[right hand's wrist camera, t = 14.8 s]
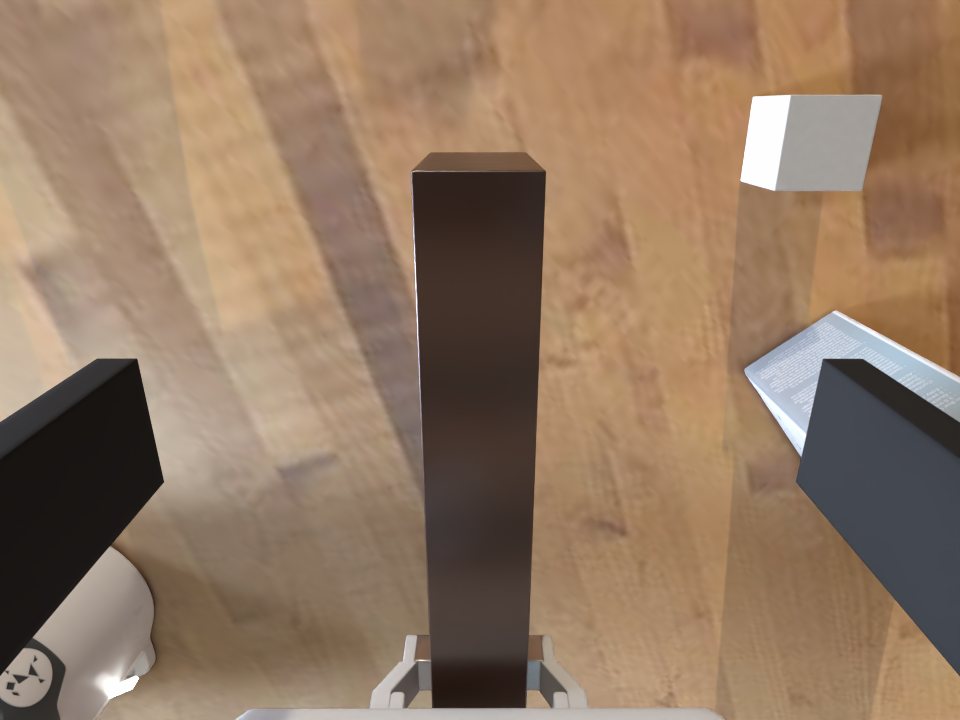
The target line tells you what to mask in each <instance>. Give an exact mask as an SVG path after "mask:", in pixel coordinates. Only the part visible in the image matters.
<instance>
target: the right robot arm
mask: <svg viewBox="0 0 960 720" xmlns="http://www.w3.org/2000/svg"><path fill="white" fill-rule="evenodd" d="M163 483H164V480H163V475H162V470H161V466H160V461H159V457H158V452H157V448H156V443H155V438H154V434H153V429H152V425H151V420H150V415H149V411H148V406H147V402H146V397H145V392H144V388H143V383H142V379H141V374H140V369H139V365H138V360H137V359H96V360H94V361H93V362H91V363H90V364H88V365H87V366H85V367H84V368H82V369H81V370H79V371H78V372H76V373H75V374H73V375H72V376H70V377H68V378H67V379H65V380H64V381H62V382H61V383H59V384H58V385H56V386H55V387H53V388H52V389H50V390H49V391H47V392H46V393H44V394H43V395H41V396H39V397H38V398H36V399H35V400H33V401H32V402H30V403H29V404H27V405H26V406H24V407H23V408H21V409H20V410H18V411H17V412H15V413H14V414H12V415H11V416H9V417H7V418H6V419H4V420H3V421H1V422H0V676H1V675H2V673H3V672H4V671H5V670H6V669H7V667H8V666H9V665H10V664H11V663H12V662H13V660H14V659H15V658H16V657H17V656H18V654H19V653H20V652H21V651H22V650H23V649H24V647H25V646H26V645H27V644H28V643H29V641H30V640H31V639H32V638H33V637H34V635H35V634H36V633H37V632H38V631H39V630H40V628H41V627H42V626H43V625H44V624H45V622H46V621H47V620H48V619H49V618H50V617H51V615H52V614H53V613H54V612H55V611H56V609H57V608H58V607H59V606H60V605H61V603H62V602H63V601H64V600H65V599H66V598H67V596H68V595H69V594H70V593H71V592H72V590H73V589H74V588H75V587H76V586H77V585H78V583H79V582H80V581H81V580H82V579H83V577H84V576H85V575H86V574H87V573H88V571H89V570H90V569H91V568H92V567H93V566H94V564H95V563H96V562H97V561H98V560H99V558H100V557H101V556H102V555H103V554H104V553H105V551H106V550H107V549H108V548H109V547H110V545H111V544H112V543H113V542H114V541H115V540H116V538H117V537H118V536H119V535H120V534H121V532H122V531H123V530H124V529H125V528H126V526H127V525H128V524H129V523H130V522H131V521H132V519H133V518H134V517H135V516H136V515H137V513H138V512H139V511H140V510H141V509H142V508H143V506H144V505H145V504H146V503H147V502H148V500H149V499H150V498H151V497H152V496H153V494H154V493H155V492H156V491H157V490H158V489H159V487H160V486H161V485H162V484H163ZM796 483H797V484H798V485H799V486H800V487H801V489H802V490H803V491H804V492H805V493H806V494H807V496H808V497H809V498H810V499H811V500H812V502H813V503H814V504H815V505H816V506H817V508H818V509H819V510H820V511H821V512H822V513H823V515H824V516H825V517H826V518H827V519H828V521H829V522H830V523H831V524H832V525H833V526H834V528H835V529H836V530H837V531H838V532H839V534H840V535H841V536H842V537H843V538H844V540H845V541H846V542H847V543H848V544H849V545H850V547H851V548H852V549H853V550H854V551H855V553H856V554H857V555H858V556H859V557H860V558H861V560H862V561H863V562H864V563H865V564H866V566H867V567H868V568H869V569H870V570H871V571H872V573H873V574H874V575H875V576H876V577H877V579H878V580H879V581H880V582H881V583H882V585H883V586H884V587H885V588H886V589H887V590H888V592H889V593H890V594H891V595H892V596H893V598H894V599H895V600H896V601H897V602H898V603H899V605H900V606H901V607H902V608H903V609H904V611H905V612H906V613H907V614H908V615H909V617H910V618H911V619H912V620H913V621H914V622H915V624H916V625H917V626H918V627H919V628H920V630H921V631H922V632H923V633H924V634H925V635H926V637H927V638H928V639H929V640H930V641H931V643H932V644H933V645H934V646H935V647H936V649H937V650H938V651H939V652H940V653H941V654H942V656H943V657H944V658H945V659H946V660H947V662H948V663H949V664H950V665H951V666H952V667H953V669H954V670H955V671H956V672H957V673H958V675H959V676H960V422H959V421H957V420H956V419H954V418H953V417H951V416H949V415H948V414H946V413H945V412H943V411H942V410H940V409H939V408H937V407H936V406H934V405H933V404H931V403H930V402H928V401H927V400H925V399H924V398H922V397H921V396H919V395H917V394H916V393H914V392H913V391H911V390H910V389H908V388H907V387H905V386H904V385H902V384H901V383H899V382H898V381H896V380H895V379H893V378H892V377H890V376H888V375H887V374H885V373H884V372H882V371H881V370H879V369H878V368H876V367H875V366H873V365H872V364H870V363H869V362H867V361H866V360H864V359H823V360H822V365H821V369H820V374H819V379H818V383H817V388H816V392H815V397H814V402H813V406H812V411H811V415H810V420H809V425H808V429H807V434H806V438H805V443H804V448H803V452H802V457H801V461H800V466H799V470H798V475H797V480H796Z"/></svg>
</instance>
